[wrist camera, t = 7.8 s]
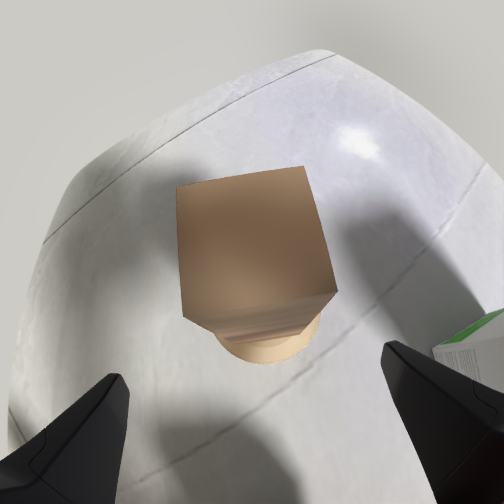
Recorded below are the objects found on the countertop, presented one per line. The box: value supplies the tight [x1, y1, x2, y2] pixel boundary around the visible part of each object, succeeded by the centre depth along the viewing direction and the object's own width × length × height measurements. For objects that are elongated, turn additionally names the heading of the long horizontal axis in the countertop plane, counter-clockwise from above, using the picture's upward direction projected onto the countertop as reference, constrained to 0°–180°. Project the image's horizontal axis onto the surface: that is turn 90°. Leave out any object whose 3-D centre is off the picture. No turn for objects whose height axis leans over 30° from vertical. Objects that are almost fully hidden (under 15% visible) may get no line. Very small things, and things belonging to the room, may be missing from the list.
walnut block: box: [176, 166, 338, 345], centre depth 16 cm, size 5×5×14 cm
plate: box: [215, 312, 321, 364], centre depth 23 cm, size 9×9×1 cm
